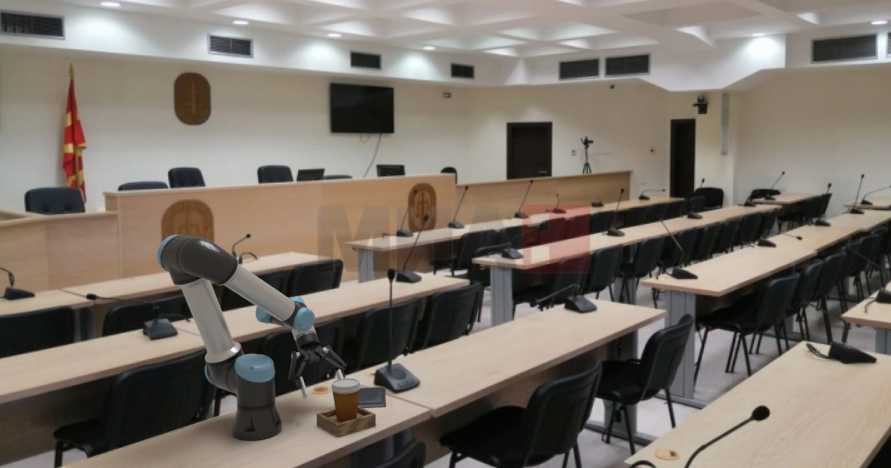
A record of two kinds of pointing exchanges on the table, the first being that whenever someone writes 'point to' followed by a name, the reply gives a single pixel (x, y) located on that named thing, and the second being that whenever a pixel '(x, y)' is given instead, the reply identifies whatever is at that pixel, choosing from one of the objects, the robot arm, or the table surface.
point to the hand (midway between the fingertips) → (325, 392)
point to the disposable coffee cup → (346, 398)
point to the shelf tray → (338, 429)
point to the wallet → (372, 397)
